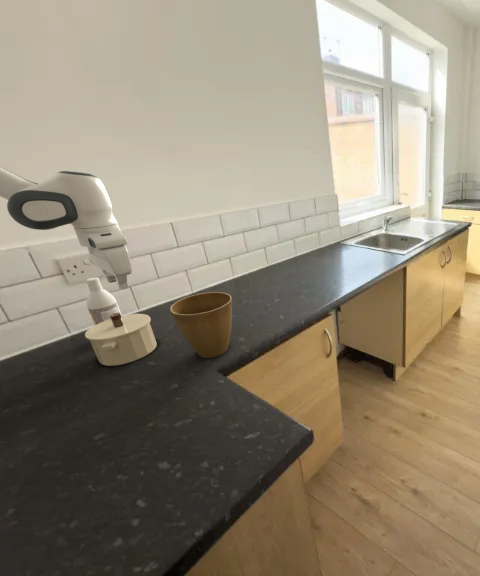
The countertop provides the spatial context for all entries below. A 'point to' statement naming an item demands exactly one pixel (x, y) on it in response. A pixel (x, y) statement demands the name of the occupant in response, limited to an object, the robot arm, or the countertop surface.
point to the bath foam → (100, 302)
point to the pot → (125, 347)
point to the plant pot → (205, 322)
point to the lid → (117, 326)
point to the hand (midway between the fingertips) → (118, 285)
